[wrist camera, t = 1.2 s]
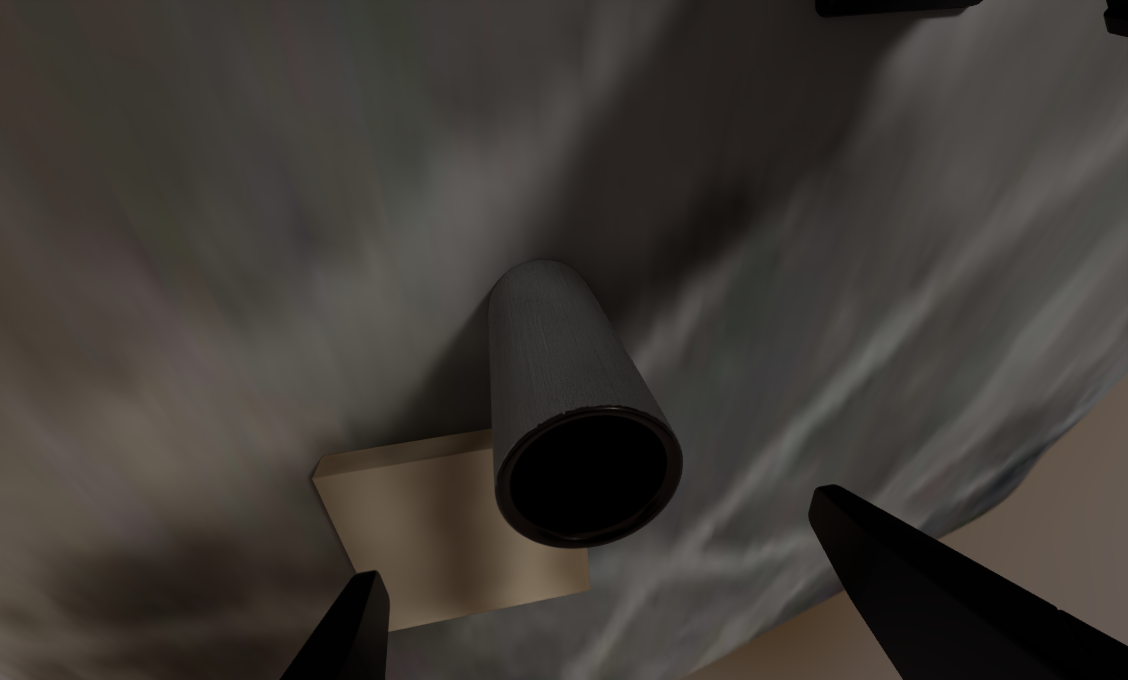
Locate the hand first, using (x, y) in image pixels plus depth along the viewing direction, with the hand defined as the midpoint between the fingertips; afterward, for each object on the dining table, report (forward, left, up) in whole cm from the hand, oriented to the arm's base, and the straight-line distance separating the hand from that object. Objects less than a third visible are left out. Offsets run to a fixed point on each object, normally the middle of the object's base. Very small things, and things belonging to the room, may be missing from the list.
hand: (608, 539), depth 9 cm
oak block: (+5, +12, -12) cm, 18 cm away
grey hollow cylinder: (0, 0, -12) cm, 12 cm away
